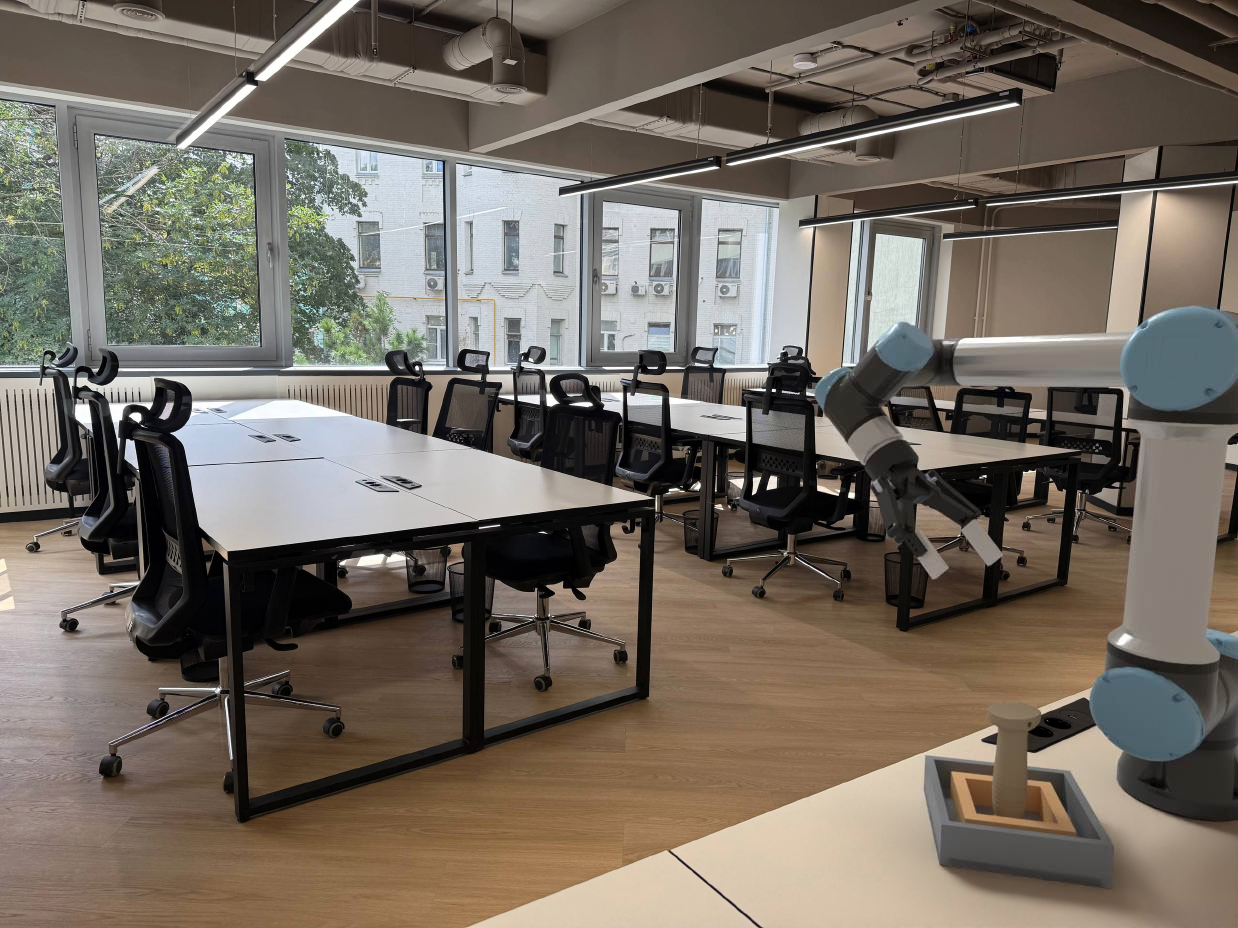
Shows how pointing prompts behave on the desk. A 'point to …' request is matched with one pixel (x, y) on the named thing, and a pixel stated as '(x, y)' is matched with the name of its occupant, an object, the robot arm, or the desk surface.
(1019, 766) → the handle
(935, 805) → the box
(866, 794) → the desk surface
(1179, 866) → the desk surface
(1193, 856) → the desk surface
